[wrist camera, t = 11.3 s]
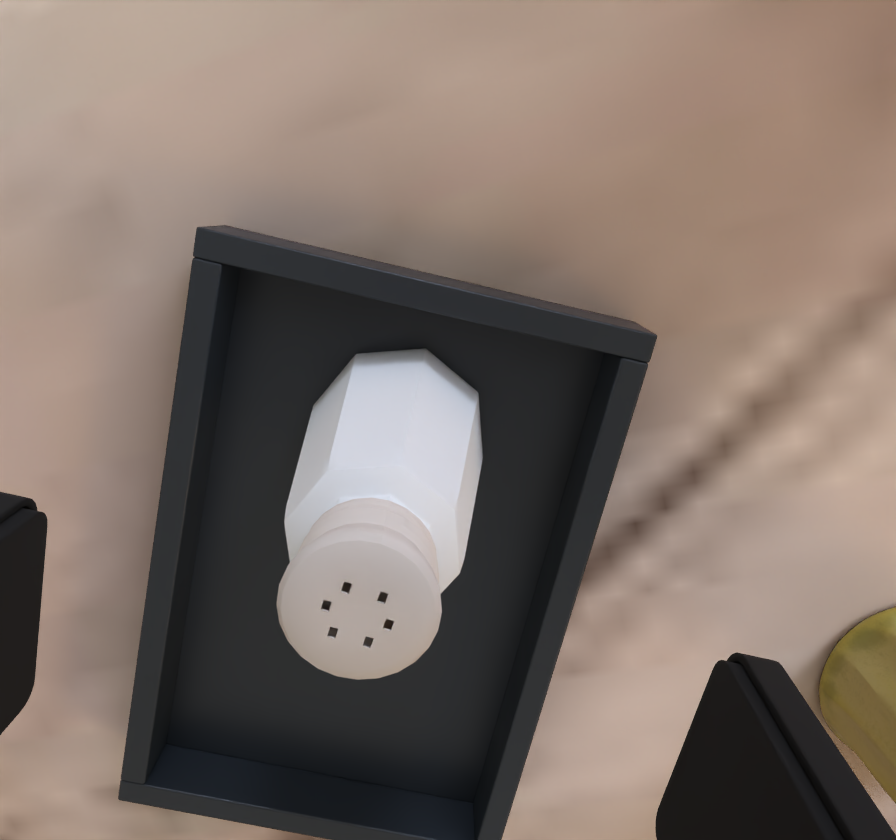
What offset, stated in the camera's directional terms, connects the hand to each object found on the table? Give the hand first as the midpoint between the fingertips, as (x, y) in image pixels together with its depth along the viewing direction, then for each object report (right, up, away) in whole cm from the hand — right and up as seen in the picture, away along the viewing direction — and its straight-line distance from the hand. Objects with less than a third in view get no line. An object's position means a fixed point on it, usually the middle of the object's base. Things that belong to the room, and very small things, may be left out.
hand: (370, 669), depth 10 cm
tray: (-1, -1, +15) cm, 15 cm away
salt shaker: (0, +3, +13) cm, 13 cm away
